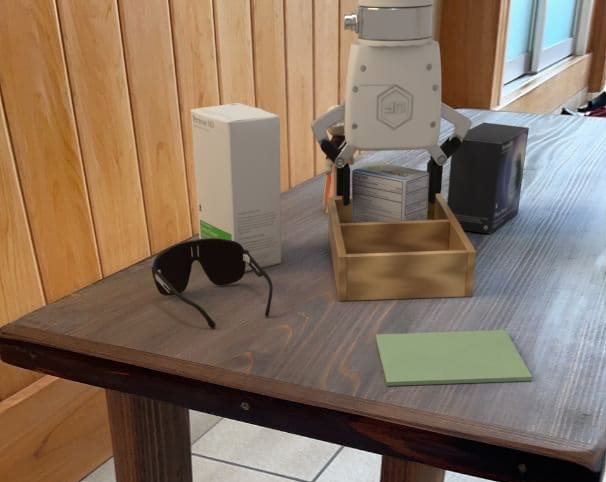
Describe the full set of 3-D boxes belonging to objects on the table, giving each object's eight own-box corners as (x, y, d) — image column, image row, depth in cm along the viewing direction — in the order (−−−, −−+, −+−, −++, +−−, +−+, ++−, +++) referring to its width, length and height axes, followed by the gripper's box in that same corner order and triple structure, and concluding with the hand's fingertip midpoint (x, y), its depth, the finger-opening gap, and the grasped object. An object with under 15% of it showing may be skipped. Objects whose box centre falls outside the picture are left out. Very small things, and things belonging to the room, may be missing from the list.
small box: (493, 236, 103) (503, 141, 96) (442, 229, 105) (449, 137, 99) (521, 213, 110) (531, 124, 104) (473, 208, 113) (481, 121, 106)
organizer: (438, 231, 104) (441, 193, 102) (472, 296, 86) (476, 251, 84) (328, 235, 104) (327, 197, 102) (338, 301, 86) (338, 256, 84)
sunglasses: (241, 276, 93) (240, 231, 89) (290, 325, 85) (291, 278, 82) (149, 294, 89) (144, 247, 86) (191, 347, 81) (188, 299, 78)
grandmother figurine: (330, 202, 117) (329, 100, 109) (358, 204, 116) (359, 100, 108) (316, 218, 111) (314, 110, 103) (344, 220, 110) (344, 111, 102)
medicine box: (426, 250, 99) (431, 171, 94) (402, 260, 96) (405, 179, 91) (375, 237, 103) (376, 161, 98) (350, 246, 101) (351, 168, 96)
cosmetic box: (199, 256, 99) (185, 108, 90) (247, 245, 102) (238, 101, 93) (237, 275, 93) (226, 119, 84) (287, 263, 96) (281, 111, 87)
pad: (505, 333, 78) (505, 329, 78) (531, 381, 70) (532, 376, 70) (375, 338, 78) (375, 334, 78) (386, 386, 70) (387, 381, 70)
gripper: (311, 32, 83) (313, 212, 94) (486, 28, 84) (469, 208, 94) (308, 24, 90) (310, 195, 100) (472, 21, 90) (458, 191, 100)
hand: (387, 201), depth 97 cm, fingers open, 9 cm apart
